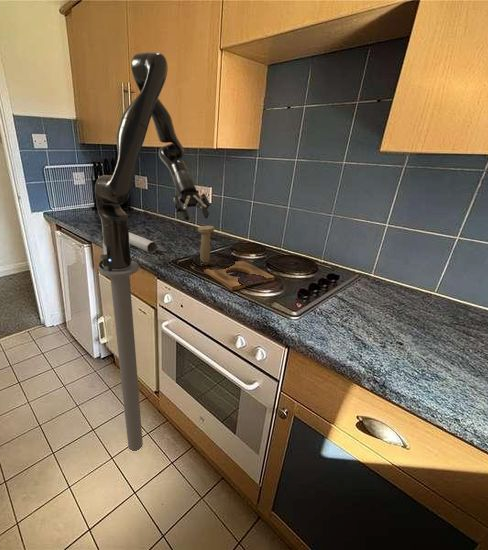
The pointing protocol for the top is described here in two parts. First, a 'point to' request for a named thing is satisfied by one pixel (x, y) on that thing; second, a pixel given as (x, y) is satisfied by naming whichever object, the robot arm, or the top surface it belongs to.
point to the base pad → (233, 281)
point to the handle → (205, 242)
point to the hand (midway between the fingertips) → (197, 218)
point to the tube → (142, 243)
